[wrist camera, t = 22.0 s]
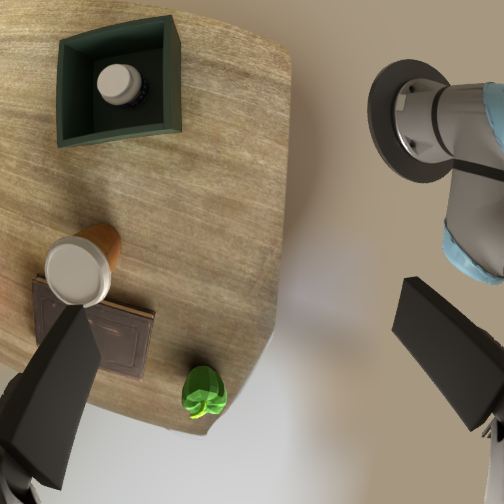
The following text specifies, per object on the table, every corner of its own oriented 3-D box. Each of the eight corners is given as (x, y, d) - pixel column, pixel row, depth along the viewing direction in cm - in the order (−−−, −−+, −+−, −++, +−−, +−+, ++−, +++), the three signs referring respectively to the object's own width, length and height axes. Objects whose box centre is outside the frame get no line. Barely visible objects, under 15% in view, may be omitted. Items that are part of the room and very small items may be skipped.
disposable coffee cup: (80, 269, 43) (49, 307, 32) (74, 212, 39) (36, 238, 28) (133, 272, 44) (112, 314, 33) (130, 214, 41) (104, 241, 30)
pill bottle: (143, 112, 35) (125, 106, 27) (110, 105, 34) (85, 99, 26) (155, 77, 33) (141, 62, 25) (122, 71, 32) (100, 56, 24)
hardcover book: (38, 273, 42) (32, 279, 40) (155, 312, 47) (153, 319, 45) (41, 340, 47) (36, 347, 44) (143, 375, 52) (141, 383, 50)
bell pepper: (220, 357, 52) (224, 396, 43) (228, 385, 55) (232, 424, 46) (177, 362, 52) (173, 401, 42) (187, 390, 55) (186, 428, 45)
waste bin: (180, 43, 32) (171, 14, 23) (182, 132, 38) (171, 129, 28) (91, 58, 31) (59, 40, 21) (91, 144, 36) (57, 148, 26)
